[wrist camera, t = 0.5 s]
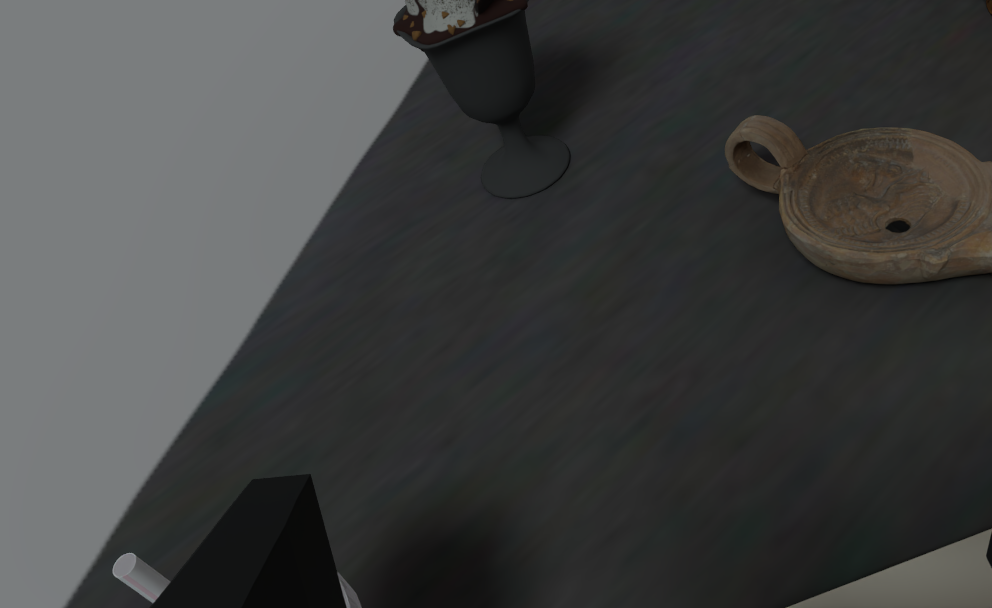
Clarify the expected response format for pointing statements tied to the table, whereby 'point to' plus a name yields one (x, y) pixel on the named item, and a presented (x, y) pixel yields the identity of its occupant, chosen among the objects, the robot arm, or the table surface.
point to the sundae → (488, 82)
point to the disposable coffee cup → (989, 5)
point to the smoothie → (154, 583)
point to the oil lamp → (874, 200)
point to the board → (922, 581)
